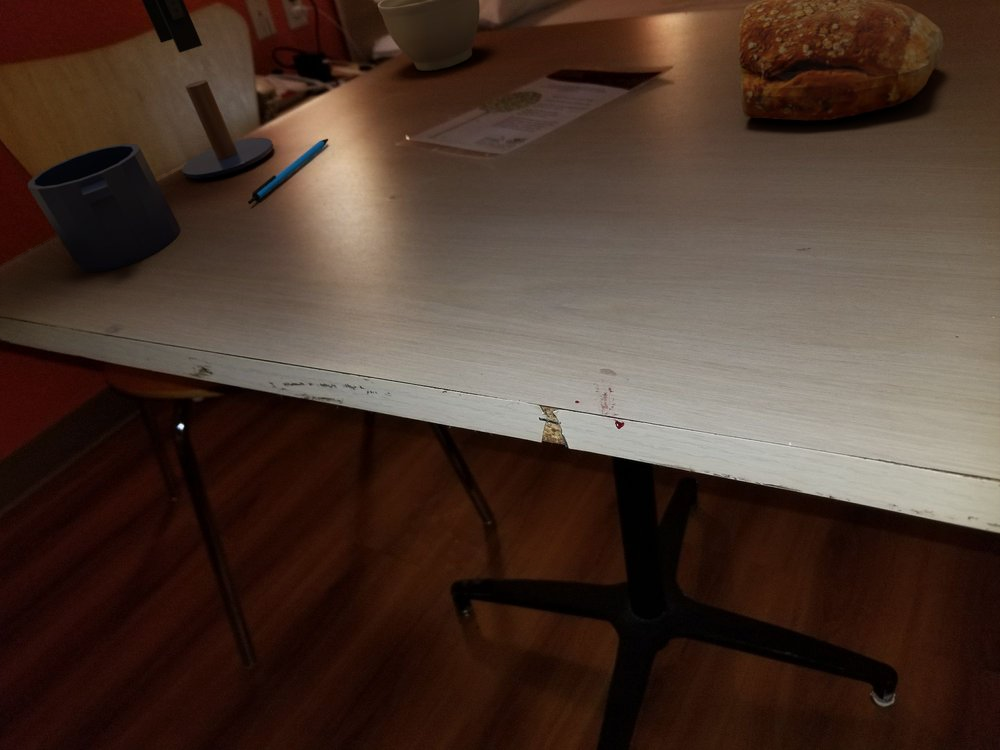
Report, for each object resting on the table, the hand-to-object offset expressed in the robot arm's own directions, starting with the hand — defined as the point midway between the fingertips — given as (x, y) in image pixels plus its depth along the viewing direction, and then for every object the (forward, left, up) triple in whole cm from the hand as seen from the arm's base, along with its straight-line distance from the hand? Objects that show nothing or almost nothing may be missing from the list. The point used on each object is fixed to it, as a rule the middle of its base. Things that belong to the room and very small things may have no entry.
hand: (180, 44), depth 90 cm
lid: (0, 0, -15) cm, 15 cm away
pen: (+5, -14, -16) cm, 21 cm away
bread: (+52, -54, -16) cm, 77 cm away
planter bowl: (+40, +12, -16) cm, 44 cm away
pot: (-16, -17, -15) cm, 28 cm away
